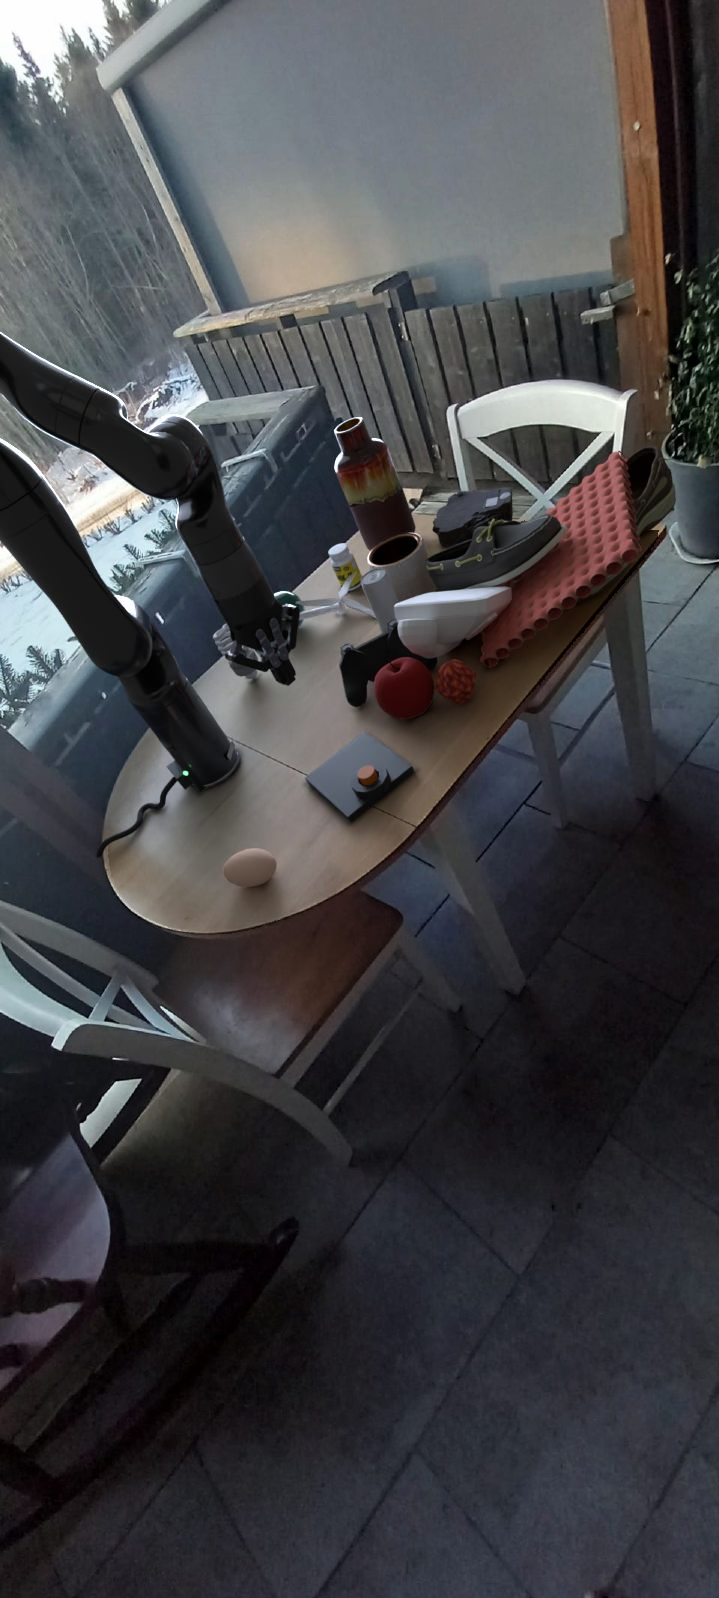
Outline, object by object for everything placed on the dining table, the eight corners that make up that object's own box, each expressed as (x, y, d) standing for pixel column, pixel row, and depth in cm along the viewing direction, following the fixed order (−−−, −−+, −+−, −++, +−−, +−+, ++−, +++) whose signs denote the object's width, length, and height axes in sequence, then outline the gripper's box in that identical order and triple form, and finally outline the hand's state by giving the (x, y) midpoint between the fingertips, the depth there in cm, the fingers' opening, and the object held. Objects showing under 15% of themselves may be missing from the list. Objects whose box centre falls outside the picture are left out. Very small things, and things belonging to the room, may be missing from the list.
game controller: (434, 663, 128) (409, 609, 126) (441, 665, 122) (415, 608, 119) (350, 706, 129) (323, 653, 127) (352, 711, 122) (324, 655, 120)
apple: (394, 737, 115) (371, 688, 108) (378, 706, 122) (356, 658, 115) (448, 710, 114) (429, 660, 108) (430, 681, 121) (410, 631, 114)
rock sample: (462, 558, 143) (455, 535, 140) (419, 540, 155) (412, 518, 151) (533, 510, 145) (528, 486, 142) (486, 496, 157) (480, 473, 154)
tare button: (381, 777, 106) (377, 770, 105) (367, 788, 106) (363, 781, 105) (371, 770, 108) (367, 762, 107) (357, 780, 107) (353, 773, 106)
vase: (424, 548, 151) (380, 420, 134) (374, 570, 153) (323, 447, 135) (415, 526, 159) (371, 403, 142) (367, 547, 161) (318, 428, 144)
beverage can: (409, 621, 135) (387, 564, 127) (408, 637, 132) (385, 579, 124) (384, 628, 137) (361, 572, 129) (383, 644, 134) (358, 587, 126)
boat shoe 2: (580, 615, 118) (568, 547, 110) (519, 595, 127) (504, 532, 119) (711, 505, 125) (709, 434, 117) (645, 494, 134) (638, 427, 126)
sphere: (319, 615, 149) (302, 581, 143) (297, 641, 145) (279, 607, 140) (289, 615, 154) (272, 582, 148) (268, 640, 150) (249, 607, 145)
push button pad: (418, 774, 108) (411, 760, 106) (353, 825, 105) (345, 812, 103) (367, 737, 118) (360, 723, 116) (308, 783, 115) (300, 770, 113)
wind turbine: (256, 610, 147) (355, 586, 151) (279, 656, 138) (383, 629, 143) (254, 594, 144) (355, 570, 148) (277, 640, 135) (383, 613, 140)
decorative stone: (485, 709, 111) (470, 668, 106) (442, 720, 114) (425, 680, 108) (484, 683, 116) (469, 642, 111) (442, 694, 118) (426, 654, 113)
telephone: (434, 588, 129) (440, 642, 132) (376, 609, 114) (384, 670, 117) (522, 580, 120) (526, 638, 124) (471, 601, 105) (478, 667, 108)
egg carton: (642, 554, 99) (633, 545, 98) (489, 670, 117) (480, 663, 117) (626, 456, 117) (617, 447, 116) (495, 570, 135) (487, 563, 134)
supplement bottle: (339, 593, 152) (323, 557, 147) (346, 579, 155) (330, 544, 149) (360, 589, 150) (344, 553, 144) (366, 575, 153) (351, 539, 147)
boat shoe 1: (558, 555, 108) (525, 504, 106) (429, 623, 131) (399, 583, 129) (588, 519, 114) (558, 469, 111) (459, 590, 137) (432, 550, 134)
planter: (431, 606, 136) (414, 561, 129) (377, 614, 141) (359, 571, 134) (444, 572, 142) (429, 526, 136) (392, 581, 147) (375, 538, 141)
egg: (265, 880, 99) (214, 889, 103) (286, 883, 104) (237, 892, 107) (262, 842, 101) (212, 852, 104) (283, 846, 105) (234, 856, 108)
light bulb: (253, 666, 146) (224, 615, 138) (272, 670, 142) (242, 618, 134) (235, 685, 143) (203, 635, 135) (253, 689, 140) (222, 638, 132)
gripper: (256, 548, 102) (305, 649, 113) (182, 604, 98) (241, 703, 109) (287, 555, 97) (336, 660, 108) (211, 614, 93) (270, 717, 104)
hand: (288, 681), depth 109 cm, fingers closed
